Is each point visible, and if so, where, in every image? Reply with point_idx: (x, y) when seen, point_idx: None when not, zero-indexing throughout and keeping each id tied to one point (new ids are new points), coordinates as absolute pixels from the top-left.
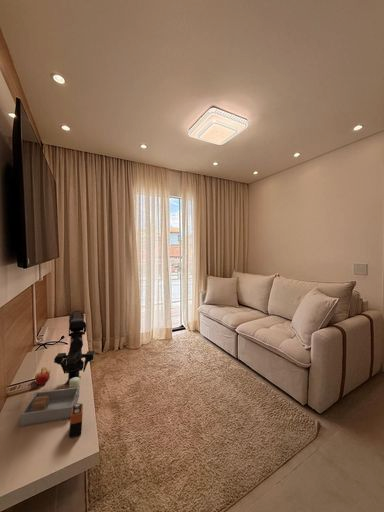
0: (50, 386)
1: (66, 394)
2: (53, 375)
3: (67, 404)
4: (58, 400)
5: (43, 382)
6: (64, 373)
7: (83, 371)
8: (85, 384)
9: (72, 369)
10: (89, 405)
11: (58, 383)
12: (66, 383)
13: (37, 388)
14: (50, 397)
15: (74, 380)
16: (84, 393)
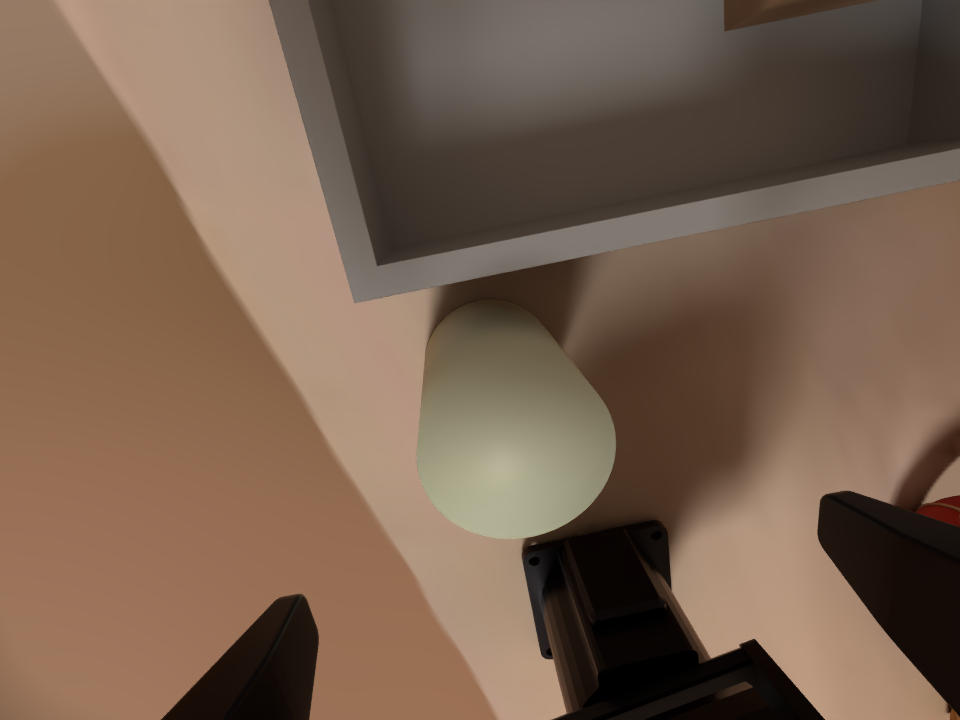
0: (825, 483)
1: (548, 222)
2: (852, 662)
3: (449, 48)
4: (625, 164)
5: (950, 515)
6: (848, 493)
7: (287, 605)
8: (417, 526)
9: (684, 717)
10: (92, 36)
11: (753, 537)
12: (660, 528)
13: (956, 446)
14: (766, 176)
15: (510, 426)
16: (335, 343)
